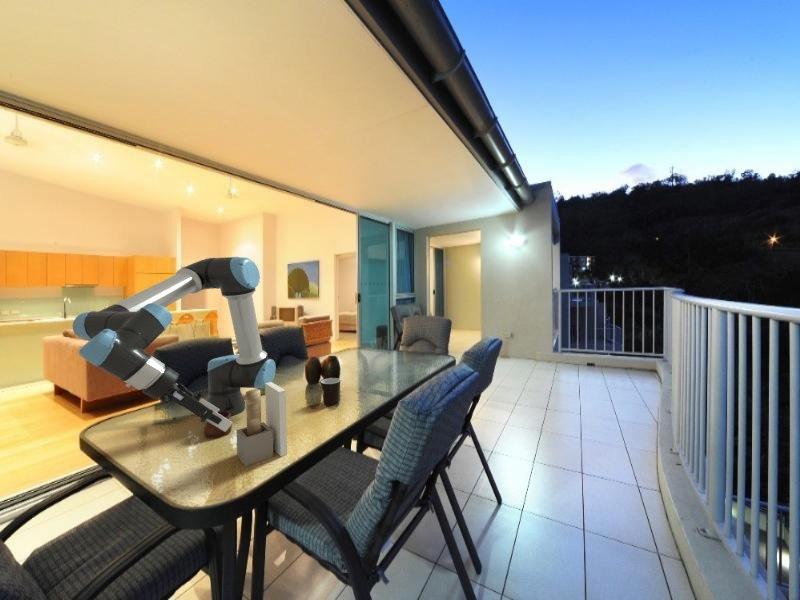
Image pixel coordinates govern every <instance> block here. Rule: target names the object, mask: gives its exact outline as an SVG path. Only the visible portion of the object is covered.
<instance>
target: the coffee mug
mask: <svg viewBox="0 0 800 600" xmlns="http://www.w3.org/2000/svg"><path fill="white" fill-rule="evenodd" d="M341 382H342V381H341V378H338V377H337V378H336V377H329V378H325V379H322V380H320V384H321V385H320V386H321V392H322V401H323V405H324V406H328V407H330V406H336V405H338V404H339V403H340V402H339V400H340V390H341Z"/></svg>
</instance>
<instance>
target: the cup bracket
mask: <svg viewBox="0 0 800 600" xmlns="http://www.w3.org/2000/svg"><path fill="white" fill-rule="evenodd" d="M286 393H287V392H286V389H284V388H282V387H281V386H280V385H278V384H276V383H274V382H273V383H272V382H269V383H265V395H264V396H265V422H261V429H262V432H261V433H258V434H255V435H251V436H248V437H247V426H246V427H243V428H239V429H236V454H237V455H236V456H237V458H239V460H240V461H241V463H242V464H243V466H244V467H247V466H250V465H252V464H253V465H254V464H256V463H259V462H262V461H264V460H267V459H270V458H271V457H274V451H275V452H276V454H277V455H278V456H279V457H281V458H282V457H284V456H286V455H288V437H287V436H288V435H287V434H288V432H287V431H288V430H287V429H288V427H287V425H288V424H287V396H286V395H287V394H286Z"/></svg>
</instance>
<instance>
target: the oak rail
mask: <svg viewBox="0 0 800 600" xmlns="http://www.w3.org/2000/svg"><path fill="white" fill-rule="evenodd" d="M261 396H262V395H260V390H259V389H256V388H253V389H250V390H247V391H246V392H245V407H246V408H245V409H246V427H247V437H248V436H251V435H255V434H258V433H261V432H262V429H261V423H262V406H261V405H262V400H261V399H262V397H261Z"/></svg>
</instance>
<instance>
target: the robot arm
mask: <svg viewBox="0 0 800 600" xmlns="http://www.w3.org/2000/svg"><path fill="white" fill-rule="evenodd" d="M260 279H261V276H260V269H259V267H258V266H257V264H256V263H255V262H254V261H253V260H252V259H251V258H249V257H242V256H241V257H239V256H230V257H229V256H228V257H225V256H224V257H209V258H205V259H201V260H198V261H196V262H193V263H191V264H188V265H187V266H184V267H182V268H180V269H178V270H177V271H176V272H175V274H174V275H172V276H169V278H166V279H164V280H162V281H160V282H158V283H155V284H153V285H152V286H149V287H147V288H145V289H143V290H141V291H139V292H136V293H134V294H132V295H131V296H129V297H127V298H124V299H122V300H120V301H118V302H116V303H114V304H112V305H110V306H107V307H104V309H101V310H98V311H97V310H93V311H87V312H82V313H80V314H78V315H77V316H76V317H75V318H74V319H73V322H72V331H73V333H74V334H75V335H76V336H77V337H78V338H80V339H83V340H88V341H87V342H86V343H85V344H84V345H82V347H80V349H79V350H78V354H79V356H80V357H81V358H83V359H84V360H86V361H87V362H89V363H90V364H92V365H93V366H94V367H97V368H99V369H101V370H103V371H104V372H106V373H108V374H110V375H112V376H114V377H116V378H118V379H120V380H121V381H122V382H125V383H126V384H125V387H126V388H130V387H133V388H135V389H136V390H139V391H140V390H142V393H143V394H144V395H146V396H148V397H149V398H152V399H155V400H157V399H159V398H162V396H163V395H165V394H167V397H168V399H169V400H171V402H175V403H176V404H178V405H179V406H180V407H181V406H182V407H183V408H185V409H186V410H188V411H189V412H191V413H193V414H194V415H195V416H197V417H198V418H200V419H201V420H200V422H201V423H203V424H205V422H206V421H208V422H209V423H211V424H213V425H214V426H216V427H218V428H220V429H221V430H223V431H225V432H226V431H227V430H228V428H229V427H230V426H231V425H232V426H233V424H234V423H233V421H231V419H229V420H228V419H227V418H225V417H223V416H222V415H220V414H219V412H223V411H227V412H230V414H231V415H230V417H232V416H235V415H238V414H240V413H242V412H244V411H245V409H246V400H245V399H244V398H245V397H244V396H243V393H242V391H241V388H243V389H247V388H248V389H257V388H265V383H269V382H272V380H273V381H274V379H273V378H275V376H274V375H276V369H277V368H276V362H275V360H274V359H272V358H269V356H268V352H266V351H265V350H263V346H262V342H261V336H260V331H259V326H258V321H257V320H258V319H257V313H256V309H255V304H254V298H253V295H254V294H255V292H256V288H257V287H258V286H259V284H260ZM213 289H218V290H219V289H220V292H221V296H222V297H224V298H225V299H226V300H227V303H228V308H229V313H230V318H231V323H232V326H233V332H234V336H235V341H236V346H237V351H238V354H229V355H225V356H219V357H216V358H215V357H214V358H213V359H211V360H209V361H208V363H207V371H206V372H207V385H208V386H207V387H208V397H207V400H206V399H204V398H202V396H203V394H201V393H198V394H197V393H195V392H193V391H191V390H190V389H188V388H187V387H186V386H185V385H184V384H182V383H177V381H178V380H179V378H180V377H179V376H180V374H179V373H178V372H177V371H176V370H174V369H172V368H171V367H170V366H165V365H166V364H165V363H164V362H161V360H159V359H157V358H156V357H154V356H153V355H151V354H149V353H148V352H146V349H148V348H149V347H150V345H151V344H152V343H153V342H154V341H155V340H156V339H157V338H159V336H160V335H162V334H163V333H164V332H165V331H166V329H167V328H168V327H169V325H170V324H172V322H173V314H172V313H171V312H170V310H169V309H168V308H167V307H168V306H170V305H172V304H173V303H175V302H177V301H179V300H180V299H182V298H185V297H186V296H187V295H189V294H197V293H199V292H201V291H204V290H213Z"/></svg>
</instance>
